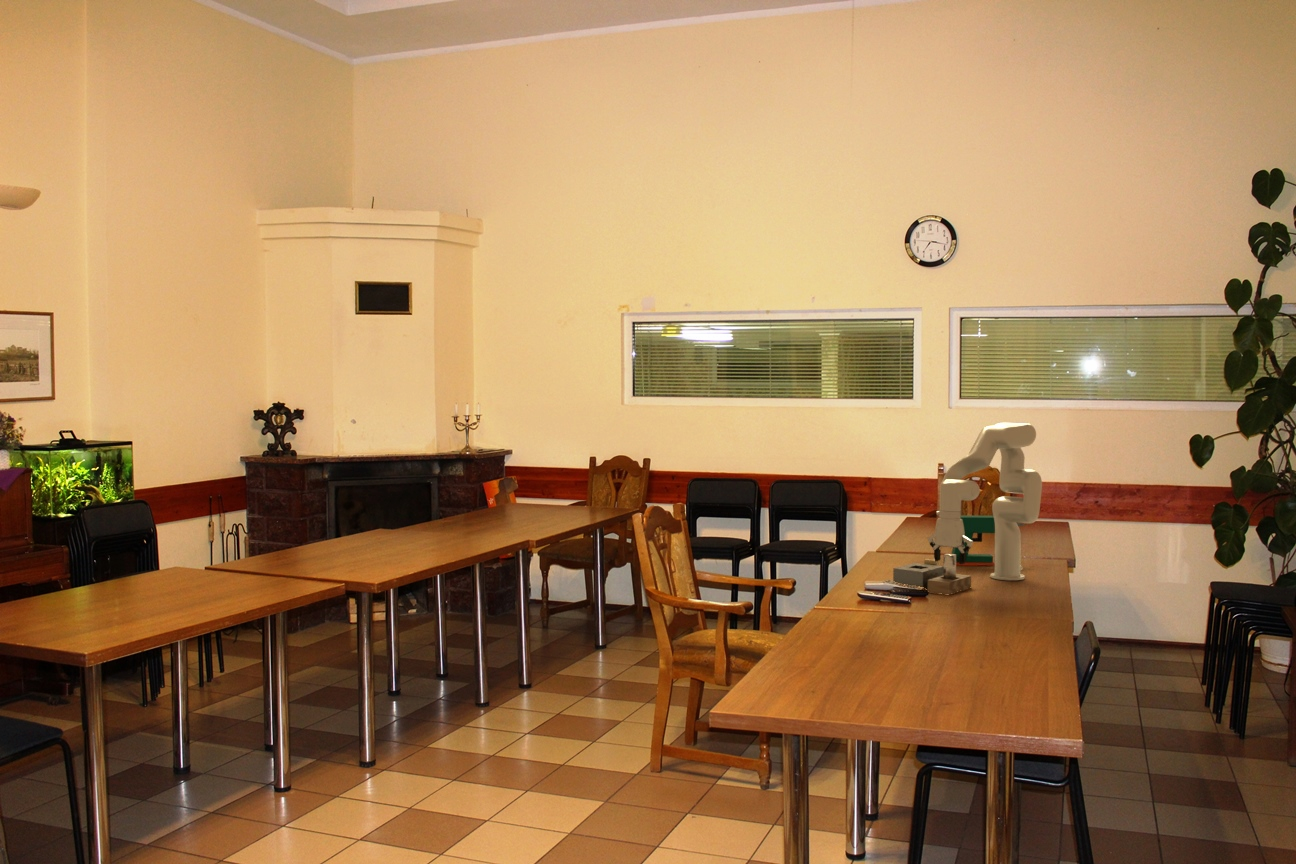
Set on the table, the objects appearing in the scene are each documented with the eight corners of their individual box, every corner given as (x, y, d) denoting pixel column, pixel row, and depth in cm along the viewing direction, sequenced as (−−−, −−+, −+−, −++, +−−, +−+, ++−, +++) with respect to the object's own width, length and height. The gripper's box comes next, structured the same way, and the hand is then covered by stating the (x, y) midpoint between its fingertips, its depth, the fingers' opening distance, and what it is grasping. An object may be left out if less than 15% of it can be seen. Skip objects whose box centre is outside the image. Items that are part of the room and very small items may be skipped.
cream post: (946, 588, 390) (947, 553, 390) (958, 590, 387) (958, 554, 387) (941, 590, 387) (941, 554, 387) (952, 591, 384) (952, 556, 384)
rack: (950, 585, 397) (950, 573, 396) (971, 588, 391) (971, 575, 391) (927, 592, 383) (927, 580, 383) (948, 595, 378) (948, 582, 378)
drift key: (926, 577, 405) (926, 558, 405) (938, 578, 402) (938, 560, 402) (916, 579, 400) (916, 561, 399) (928, 581, 396) (928, 562, 396)
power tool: (1023, 563, 445) (1024, 515, 444) (1028, 566, 438) (1028, 517, 437) (945, 562, 448) (946, 515, 447) (949, 565, 441) (949, 517, 440)
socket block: (914, 580, 406) (914, 562, 405) (943, 584, 398) (943, 566, 397) (893, 586, 394) (893, 568, 394) (922, 591, 386) (922, 571, 385)
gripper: (923, 514, 389) (923, 560, 390) (967, 518, 377) (967, 566, 378) (933, 512, 395) (932, 558, 395) (977, 516, 383) (976, 563, 384)
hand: (949, 562), depth 387 cm, fingers open, 9 cm apart
